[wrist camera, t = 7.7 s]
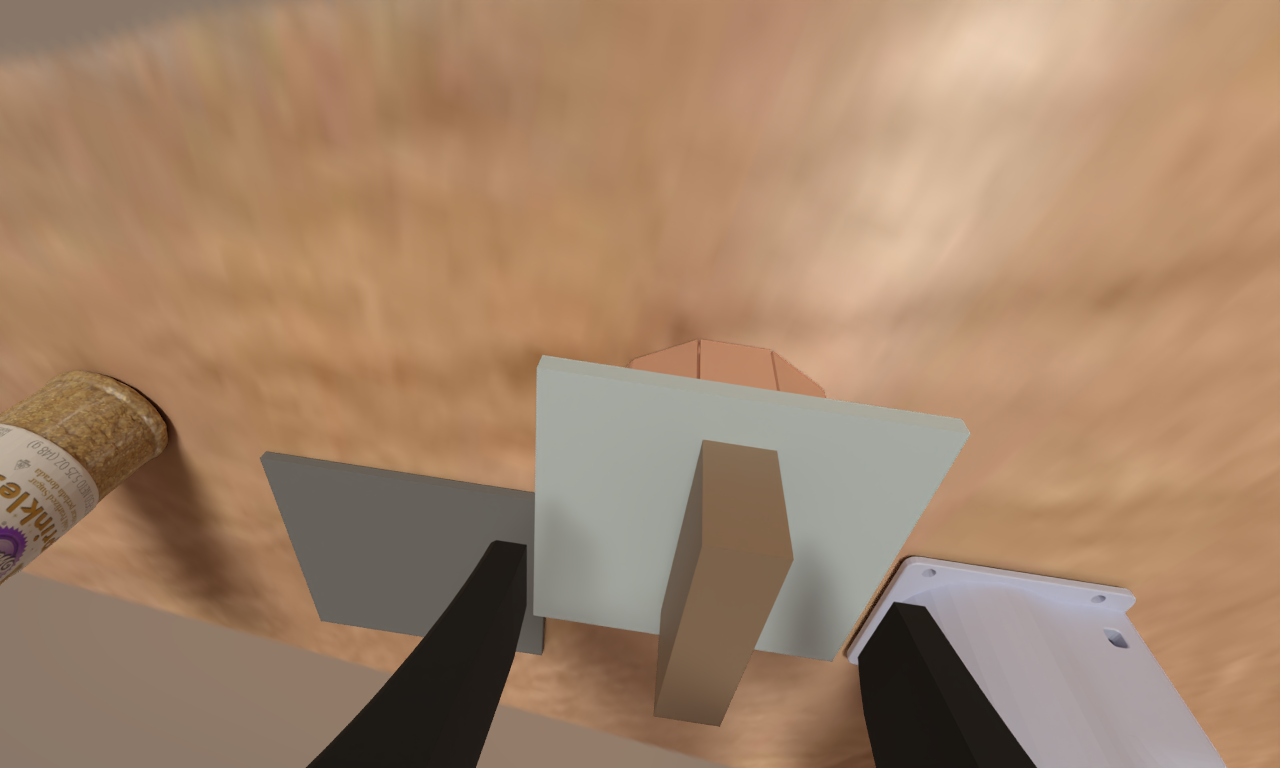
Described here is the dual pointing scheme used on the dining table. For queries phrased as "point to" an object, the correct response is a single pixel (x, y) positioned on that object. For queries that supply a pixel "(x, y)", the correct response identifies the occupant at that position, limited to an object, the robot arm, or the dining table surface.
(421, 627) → the mat
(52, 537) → the sprinkles bottle
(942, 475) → the lid
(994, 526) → the dining table surface
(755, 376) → the bowl
